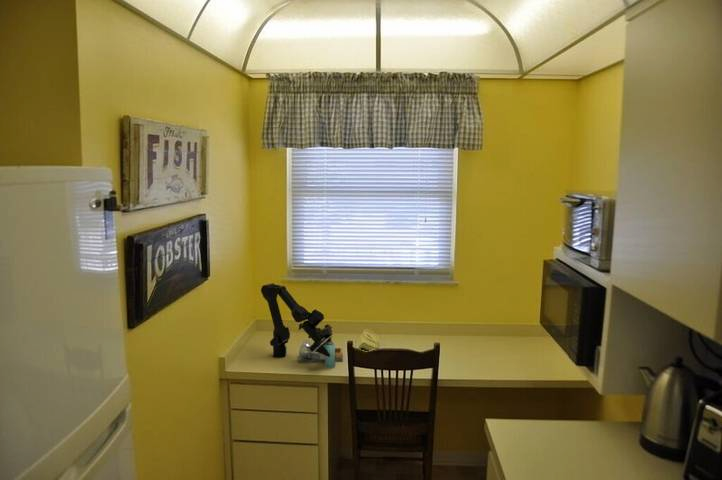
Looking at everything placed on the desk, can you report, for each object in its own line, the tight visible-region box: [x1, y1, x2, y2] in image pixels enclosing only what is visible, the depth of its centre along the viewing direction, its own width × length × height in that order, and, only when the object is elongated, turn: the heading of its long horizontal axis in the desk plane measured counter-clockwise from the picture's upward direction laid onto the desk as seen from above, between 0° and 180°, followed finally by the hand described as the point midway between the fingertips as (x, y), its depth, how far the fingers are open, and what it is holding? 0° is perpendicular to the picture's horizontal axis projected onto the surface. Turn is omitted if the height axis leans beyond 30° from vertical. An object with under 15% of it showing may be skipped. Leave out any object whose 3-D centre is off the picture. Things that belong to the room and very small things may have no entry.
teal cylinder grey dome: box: [324, 340, 336, 369], centre depth 261 cm, size 5×5×12 cm
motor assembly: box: [297, 339, 344, 363], centre depth 272 cm, size 23×11×8 cm, turn 92°
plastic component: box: [355, 328, 379, 351], centre depth 292 cm, size 20×7×10 cm
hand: (332, 353), depth 261 cm, fingers open, 7 cm apart
